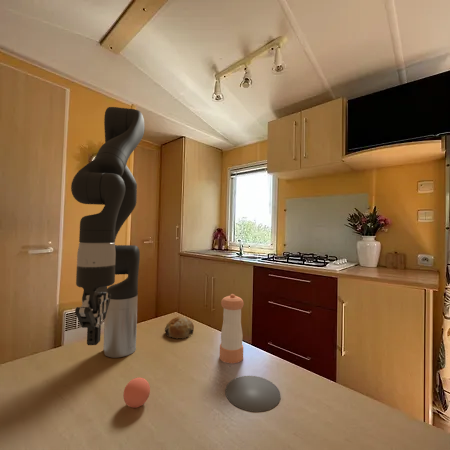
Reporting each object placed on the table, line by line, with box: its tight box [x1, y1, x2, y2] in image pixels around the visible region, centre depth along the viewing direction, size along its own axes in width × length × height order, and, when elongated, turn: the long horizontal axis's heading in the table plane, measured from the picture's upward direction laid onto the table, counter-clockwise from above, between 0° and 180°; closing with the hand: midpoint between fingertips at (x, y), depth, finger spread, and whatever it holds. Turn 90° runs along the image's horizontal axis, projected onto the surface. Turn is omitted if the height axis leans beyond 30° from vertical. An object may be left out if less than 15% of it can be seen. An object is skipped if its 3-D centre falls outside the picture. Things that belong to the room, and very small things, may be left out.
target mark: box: [225, 375, 281, 413], centre depth 60 cm, size 13×13×1 cm
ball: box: [123, 377, 151, 409], centre depth 55 cm, size 6×6×6 cm
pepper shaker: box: [219, 293, 245, 364], centre depth 77 cm, size 7×7×19 cm
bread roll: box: [164, 315, 195, 339], centre depth 93 cm, size 10×10×8 cm
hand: (93, 343), depth 54 cm, fingers closed
